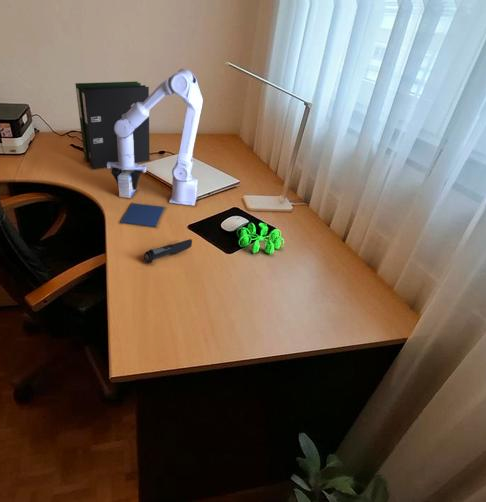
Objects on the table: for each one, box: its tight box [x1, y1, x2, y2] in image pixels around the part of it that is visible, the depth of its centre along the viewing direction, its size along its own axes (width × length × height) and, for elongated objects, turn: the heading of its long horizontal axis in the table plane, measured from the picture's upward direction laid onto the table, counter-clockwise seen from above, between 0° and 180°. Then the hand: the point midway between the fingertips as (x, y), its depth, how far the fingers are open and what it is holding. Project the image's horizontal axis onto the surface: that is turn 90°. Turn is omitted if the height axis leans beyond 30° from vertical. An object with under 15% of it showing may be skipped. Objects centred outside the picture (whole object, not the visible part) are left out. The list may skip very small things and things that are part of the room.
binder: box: [74, 81, 151, 170], centre depth 154 cm, size 27×15×32 cm, turn 118°
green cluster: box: [236, 222, 285, 255], centre depth 108 cm, size 15×15×7 cm
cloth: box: [120, 202, 165, 228], centre depth 121 cm, size 12×14×1 cm
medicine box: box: [117, 169, 138, 199], centre depth 132 cm, size 8×4×9 cm, turn 168°
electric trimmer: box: [142, 238, 193, 264], centre depth 102 cm, size 4×16×3 cm, turn 122°
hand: (127, 187), depth 133 cm, fingers open, 5 cm apart
